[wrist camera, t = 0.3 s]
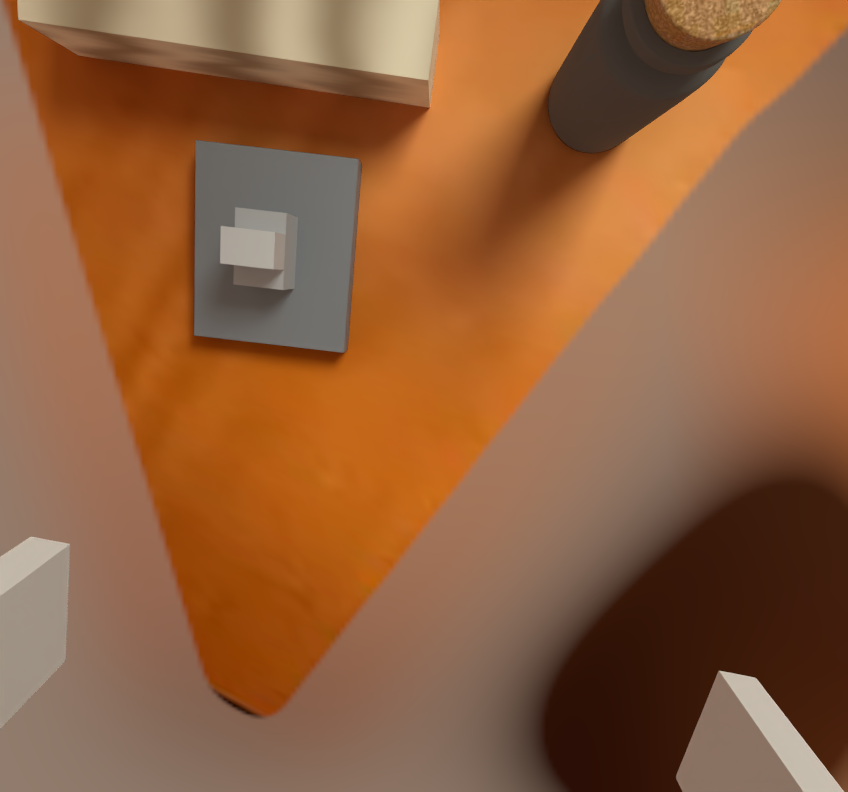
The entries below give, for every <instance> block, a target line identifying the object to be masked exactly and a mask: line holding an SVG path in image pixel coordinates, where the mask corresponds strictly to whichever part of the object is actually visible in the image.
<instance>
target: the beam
mask: <svg viewBox="0 0 848 792" xmlns="http://www.w3.org/2000/svg"><path fill="white" fill-rule="evenodd" d="M17 4H18V20H20V21H22V22H23V23H25V24H27V25H28V26H30V27H32V28H33V29H35V30H37V31H38V32H40V33H42V34H43V35H45V36H47V37H48V38H50V39H52V40H53V41H55V42H57V43H58V44H60V45H62V46H63V47H65V48H67V49H68V50H70V51H72V52H73V53H75V54H77V55H78V56H84V57H91V58H98V59H105V60H111V61H118V62H125V63H132V64H138V65H145V66H152V67H159V68H165V69H172V70H179V71H185V72H192V73H199V74H206V75H212V76H219V77H226V78H233V79H239V80H246V81H253V82H260V83H266V84H273V85H280V86H287V87H293V88H300V89H307V90H313V91H320V92H327V93H334V94H340V95H347V96H354V97H361V98H367V99H374V100H381V101H388V102H394V103H401V104H408V105H415V106H421V107H428V108H430V103H431V95H432V88H433V80H434V73H435V65H436V57H437V50H438V42H439V0H17Z"/></svg>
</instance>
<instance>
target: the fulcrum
mask: <svg viewBox="0 0 848 792" xmlns="http://www.w3.org/2000/svg"><path fill="white" fill-rule="evenodd" d="M361 170H362V163H361V162H360V160H359V159H355V158H347V157H338V156H329V155H321V154H312V153H303V152H295V151H286V150H277V149H269V148H260V147H251V146H243V145H234V144H225V143H217V142H208V141H199V140H196V150H195V298H194V335H195V336H204V337H212V338H221V339H230V340H238V341H247V342H255V343H264V344H273V345H281V346H290V347H299V348H307V349H316V350H324V351H333V352H342V353H344V352H345V351H346V350H347V349H348V337H349V324H350V311H351V298H352V286H353V273H354V260H355V247H356V234H357V221H358V208H359V196H360V183H361Z"/></svg>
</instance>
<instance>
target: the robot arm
mask: <svg viewBox="0 0 848 792" xmlns="http://www.w3.org/2000/svg"><path fill="white" fill-rule="evenodd" d="M69 557H70V544H67V543H62V542H57V541H51V540H46V539H41V538H36V537H30V538H28V539H27V540H25V541H24V542H22V543H21V544H19V545H17V546H16V547H15V548H13V549H12V550H10V551H9V552H7V553H5V554H4V555H2V556H1V557H0V729H1V728H2V727H3V726H4V724H5V723H6V722H7V721H8V720H9V719H10V718H11V717H12V716H13V715H14V714H15V713H16V712H17V711H18V710H19V709H20V708H21V707H22V706H23V705H24V704H25V702H26V701H27V700H28V699H29V698H30V697H31V696H32V695H33V694H34V693H35V692H36V691H37V690H38V689H39V688H40V687H41V686H42V685H43V684H44V682H46V681H47V679H48V678H49V677H50V676H51V675H52V674H53V673H54V672H55V671H56V670H57V669H58V668H59V667H60V666H61V665H62V664H63V662H65V658H66V632H67V608H68V607H67V605H68V582H69ZM676 779H677V781H678V783H679V785H680V787H681V789H682V792H844V791H843V790H842V788H841V787H840V786H839V785H838V783H837V782H836V781H835V780H834V778H833V777H832V776H831V774H830V773H829V772H828V770H827V769H826V768H825V767H824V765H823V764H822V763H821V761H820V760H819V759H818V758H817V756H816V755H815V754H814V752H813V751H812V750H811V749H810V747H809V746H808V745H807V743H806V742H805V741H804V739H803V738H802V737H801V736H800V734H799V733H798V732H797V730H796V729H795V728H794V727H793V725H792V724H791V723H790V722H789V720H788V719H787V718H786V716H785V715H784V714H783V712H782V711H781V710H780V708H779V707H778V706H777V705H776V703H775V702H774V701H773V699H772V698H771V697H770V696H769V695H768V693H767V692H766V691H765V689H764V688H763V687H762V685H761V684H760V683H759V681H758V680H757V679H756V678H754V677H749V676H743V675H738V674H733V673H728V672H723V671H719V672H718V674H717V677H716V679H715V682H714V684H713V687H712V689H711V692H710V694H709V696H708V699H707V701H706V704H705V706H704V709H703V711H702V714H701V716H700V719H699V721H698V723H697V726H696V728H695V731H694V733H693V736H692V739H691V741H690V743H689V746H688V748H687V751H686V753H685V756H684V758H683V760H682V763H681V765H680V768H679V770H678V773H677V775H676Z"/></svg>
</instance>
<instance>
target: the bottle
mask: <svg viewBox="0 0 848 792" xmlns="http://www.w3.org/2000/svg"><path fill="white" fill-rule="evenodd" d="M780 2H781V0H600V2H599V4H598V5H597V7H596V8H595V10H594V12H593V13H592V15H591V17H590V18H589V20H588V22H587V23H586V25H585V27H584V28H583V30H582V32H581V33H580V35H579V37H578V39H577V40H576V42H575V44H574V45H573V47H572V49H571V51H570V52H569V54H568V56H567V57H566V59H565V61H564V62H563V64H562V66H561V68H560V70H559V71H558V73H557V75H556V77H555V79H554V81H553V84H552V86H551V89H550V94H549V99H548V112H549V117H550V122H551V124H552V127H553V129H554V131H555V132H556V134H557V135H558V137H559V138H560V139H561V140H562V141H563V142H564V143H565V144H566V145H567V146H569V147H571V148H573V149H575V150H577V151H581V152H586V153H598V152H603V151H606V150H609V149H611V148H613V147H615V146H617V145H619V144H620V143H622V142H623V141H625V140H626V139H628V138H629V137H631V136H632V135H634V134H635V133H636V132H638V131H639V130H641V129H642V128H644V127H645V126H646V125H648V124H649V123H651V122H652V121H654V120H655V119H657V118H658V117H659V116H661V115H662V114H664V113H665V112H667V111H668V110H669V109H671V108H672V107H674V106H675V105H677V104H678V103H679V102H681V101H682V100H684V99H685V98H686V97H688V96H689V95H690V94H692V93H693V92H694V91H696V90H697V89H698V88H700V87H701V86H702V85H703V84H704V83H705V82H707V81H708V80H709V79H710V78H711V77H712V76H713V75H714V74H715V73H716V71H717V70H718V69H719V68H720V66H721V65H722V63H723V62H724V60H725V58H726V57H727V56H729V55H730V54H732V53H733V52H734V51H735V50H736V49H737V48H738V47H739V46H740V45H741V44H742V43H743V42H744V41H745V40H746V39H747V38H748V36H749V35H750V34H751V32H752V31H753V29H754V28H756V27H757V26H759V25H760V24H761V23H763V22H764V21H765V20H766V19H767V18H768V17H769V16H770V15H771V13H772V12H773V11H774V10H775V9H776V7H777V6H778V5H779V3H780Z"/></svg>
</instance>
